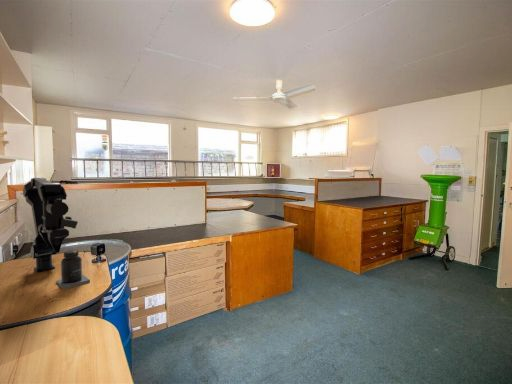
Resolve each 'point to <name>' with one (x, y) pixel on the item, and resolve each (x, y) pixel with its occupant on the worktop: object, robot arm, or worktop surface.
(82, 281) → the coaster
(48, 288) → the worktop surface
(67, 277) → the supplement bottle
